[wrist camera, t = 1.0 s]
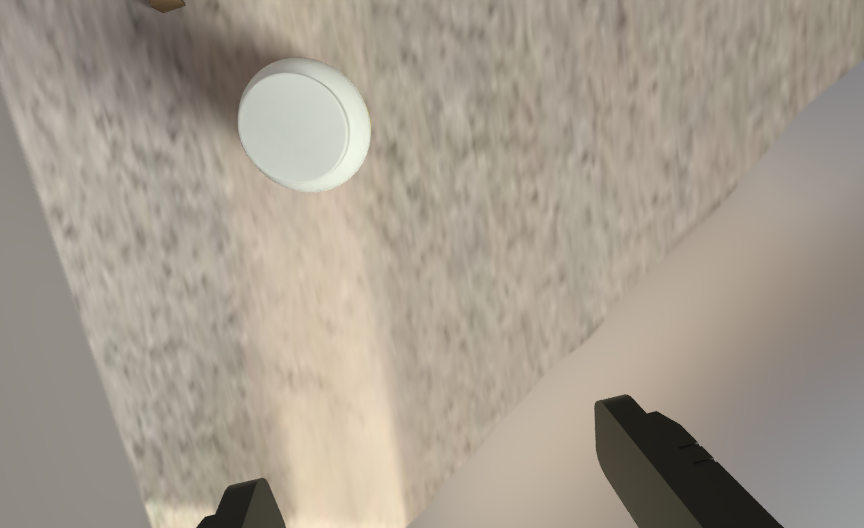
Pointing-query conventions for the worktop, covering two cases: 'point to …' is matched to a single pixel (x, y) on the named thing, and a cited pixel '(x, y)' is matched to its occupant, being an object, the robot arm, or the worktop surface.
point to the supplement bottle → (304, 124)
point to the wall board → (166, 4)
